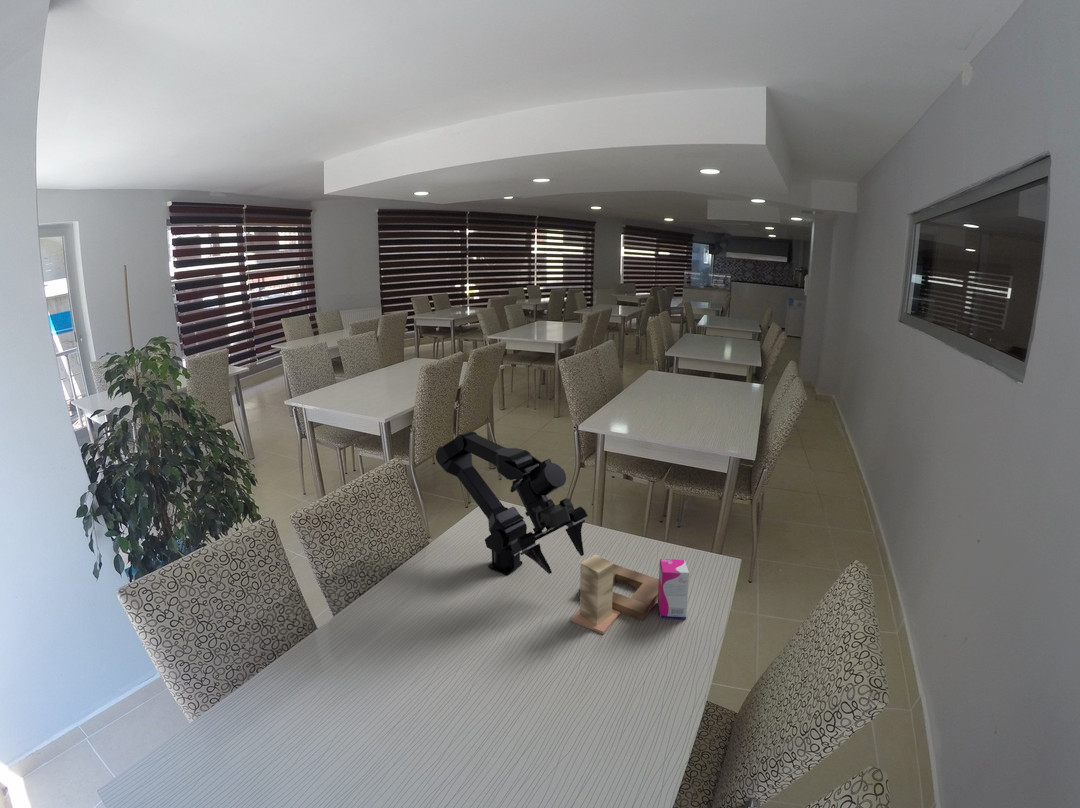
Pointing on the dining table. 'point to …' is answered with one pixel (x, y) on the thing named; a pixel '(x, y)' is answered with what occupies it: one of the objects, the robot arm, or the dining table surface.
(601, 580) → the maple block
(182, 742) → the dining table surface
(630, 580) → the pocket board
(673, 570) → the supplement box
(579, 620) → the terracotta tile
